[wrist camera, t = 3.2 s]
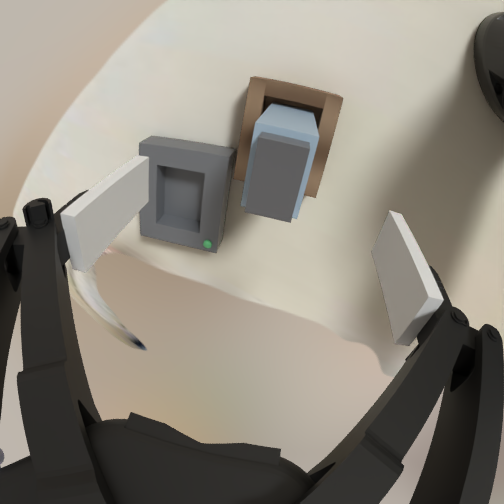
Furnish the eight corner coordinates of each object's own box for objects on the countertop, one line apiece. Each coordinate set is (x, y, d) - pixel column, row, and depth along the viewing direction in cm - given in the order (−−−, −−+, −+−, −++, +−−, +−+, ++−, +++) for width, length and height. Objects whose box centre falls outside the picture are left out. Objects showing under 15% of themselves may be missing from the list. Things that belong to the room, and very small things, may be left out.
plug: (273, 101, 27) (251, 127, 16) (312, 110, 27) (320, 143, 16) (262, 155, 30) (235, 217, 19) (299, 164, 30) (296, 230, 19)
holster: (255, 76, 26) (250, 77, 23) (339, 95, 26) (343, 98, 23) (239, 169, 32) (233, 178, 30) (314, 186, 32) (315, 197, 29)
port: (151, 135, 31) (137, 143, 28) (235, 148, 31) (228, 157, 28) (150, 223, 38) (139, 236, 36) (222, 239, 38) (215, 254, 35)
